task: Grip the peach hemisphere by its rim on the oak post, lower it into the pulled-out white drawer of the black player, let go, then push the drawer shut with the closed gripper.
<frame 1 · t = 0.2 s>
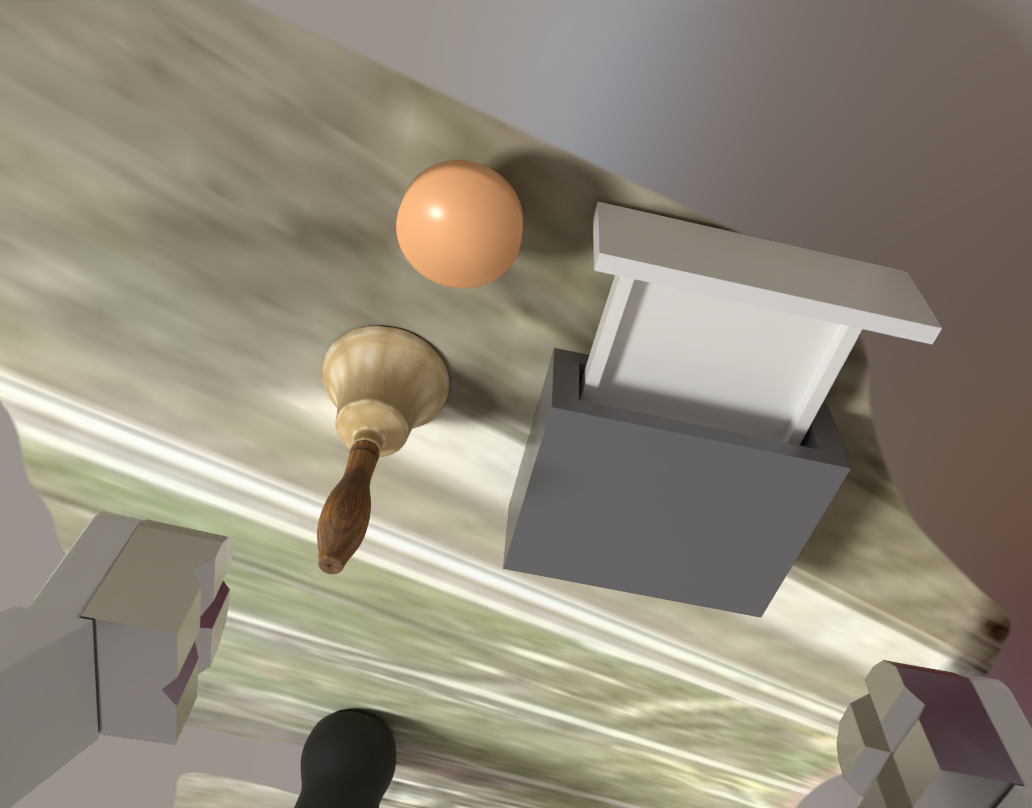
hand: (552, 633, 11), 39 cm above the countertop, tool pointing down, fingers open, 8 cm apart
white drawer: (719, 363, 50), point 4 cm above the countertop, slide at 9.0 cm
cola bottle: (356, 727, 82), on the countertop
peach hemisphere: (462, 219, 46), point 3 cm above the countertop, touching post
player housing: (659, 458, 59), on the countertop
hand bell: (386, 376, 57), on the countertop
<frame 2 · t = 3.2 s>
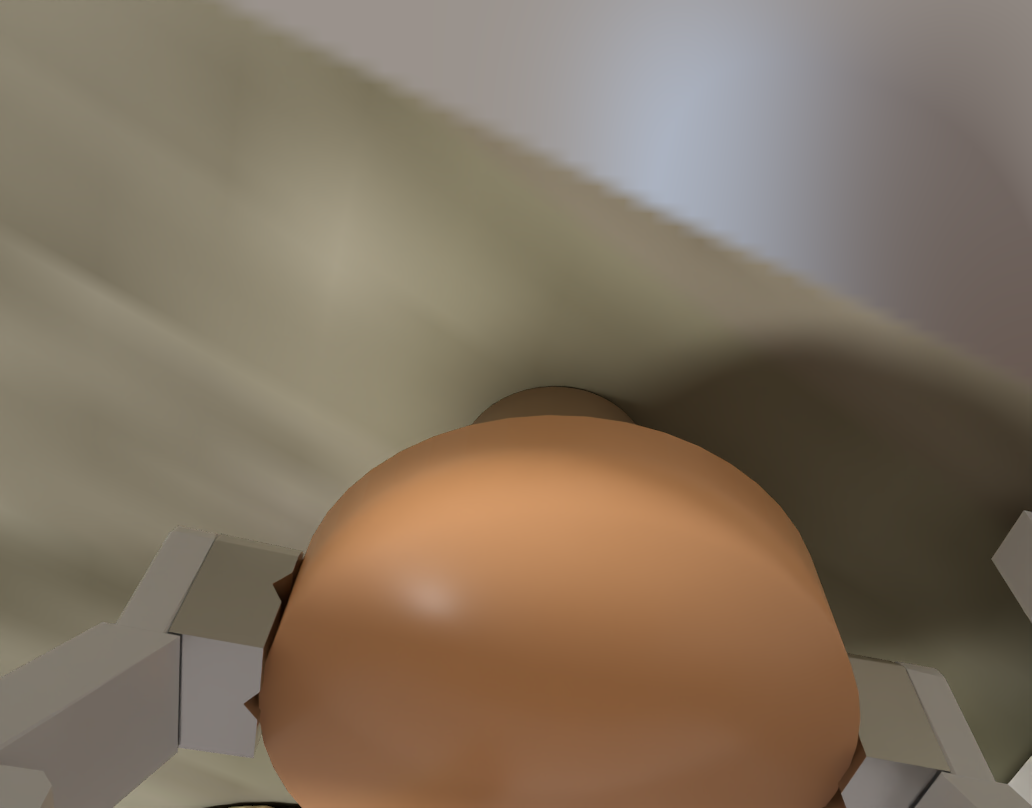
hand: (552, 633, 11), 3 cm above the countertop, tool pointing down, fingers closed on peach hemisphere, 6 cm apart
peach hemisphere: (554, 634, 11), point 3 cm above the countertop, touching gripper, post
post: (553, 468, 14), on the countertop
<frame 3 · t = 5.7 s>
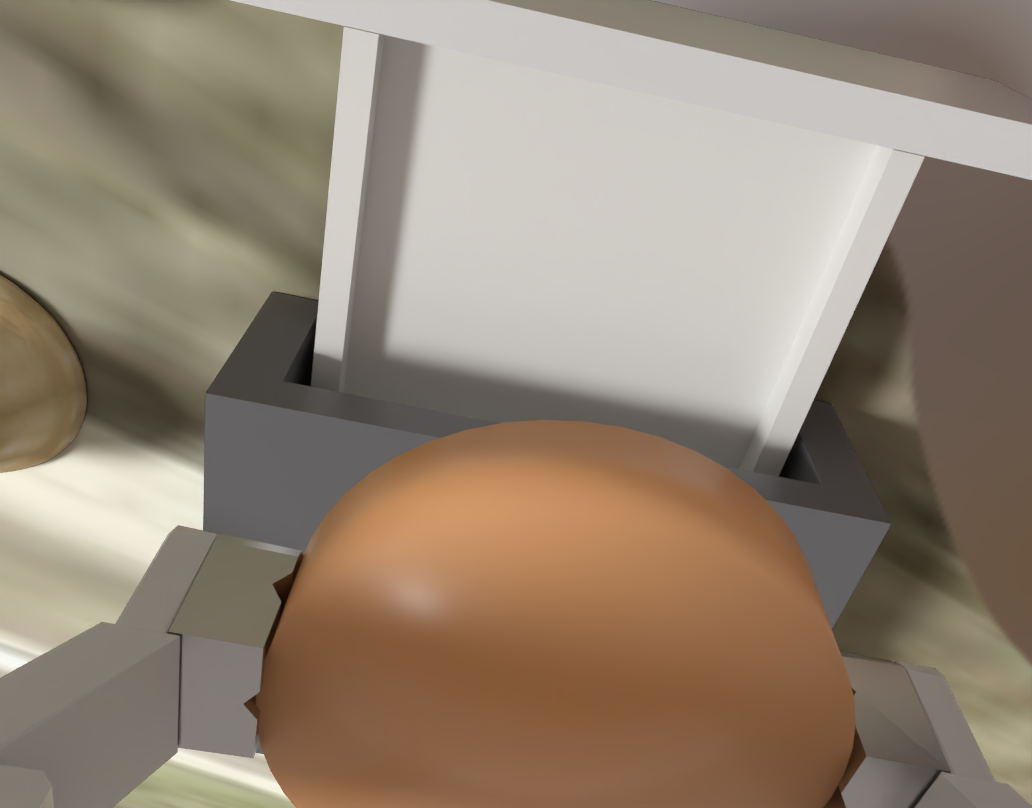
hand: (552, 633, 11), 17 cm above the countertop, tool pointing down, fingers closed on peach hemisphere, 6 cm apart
white drawer: (590, 291, 23), point 4 cm above the countertop, slide at 9.0 cm
peach hemisphere: (551, 637, 11), point 17 cm above the countertop, touching gripper
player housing: (513, 517, 31), on the countertop
when the fingers open (3 cm above the countertop, at t = 8.5 s): peach hemisphere stays where it is, resting on white drawer.
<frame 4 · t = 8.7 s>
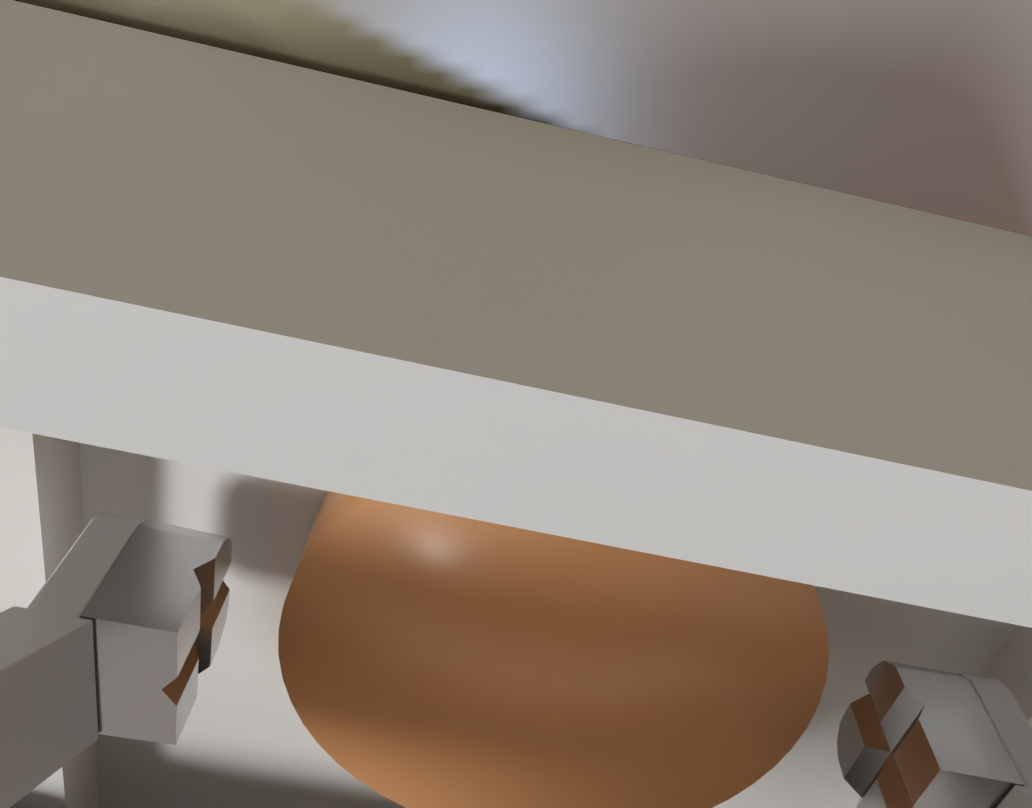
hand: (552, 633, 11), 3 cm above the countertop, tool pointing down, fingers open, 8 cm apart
white drawer: (532, 735, 11), point 3 cm above the countertop, slide at 9.0 cm, touching peach hemisphere
peach hemisphere: (550, 584, 12), point 2 cm above the countertop, touching white drawer
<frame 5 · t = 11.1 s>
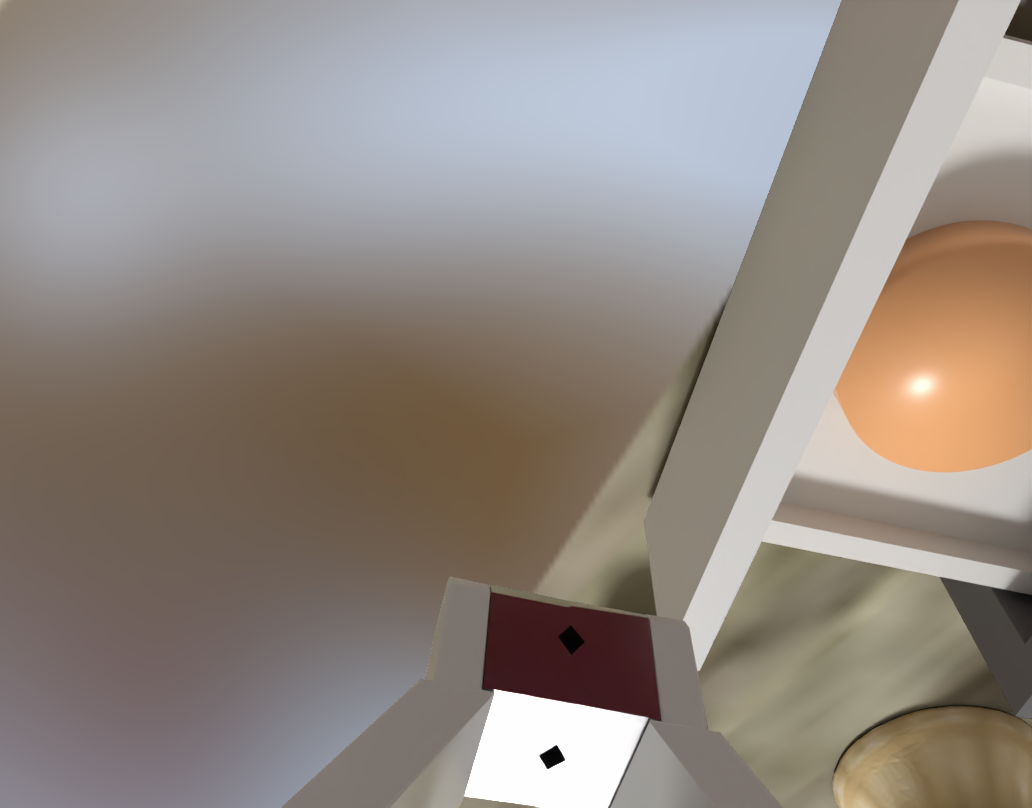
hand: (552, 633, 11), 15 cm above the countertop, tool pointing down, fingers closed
white drawer: (1017, 373, 22), point 3 cm above the countertop, slide at 9.0 cm, touching peach hemisphere
peach hemisphere: (949, 337, 23), point 2 cm above the countertop, touching white drawer
hand bell: (935, 769, 35), on the countertop
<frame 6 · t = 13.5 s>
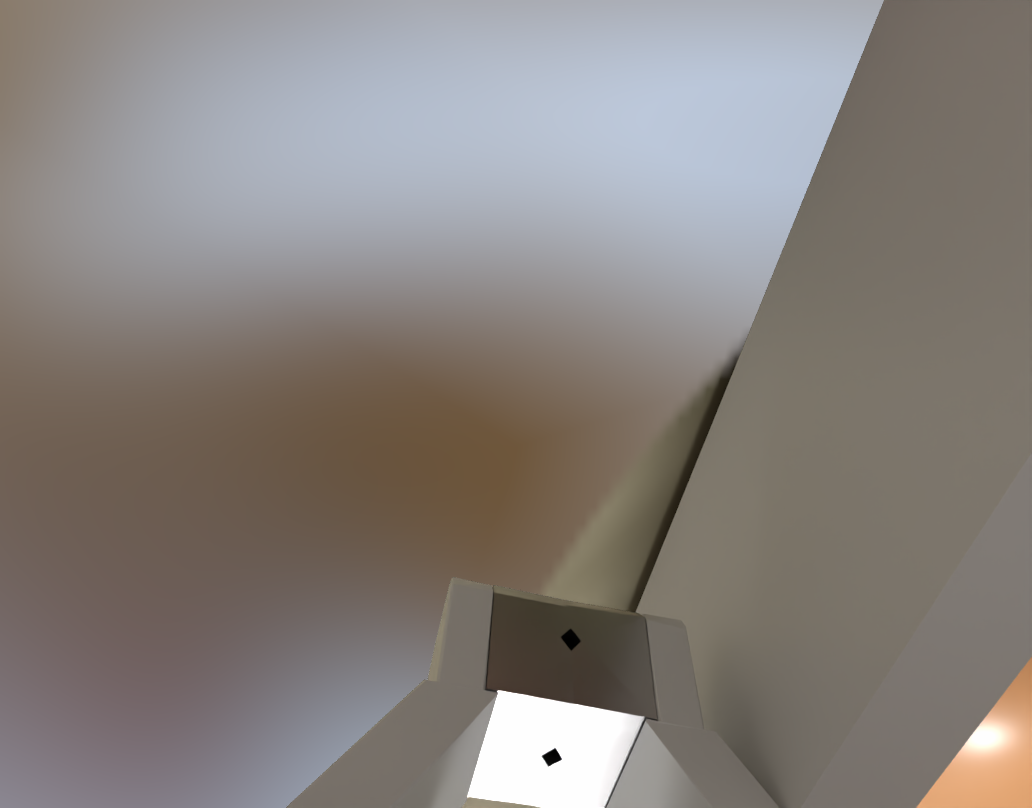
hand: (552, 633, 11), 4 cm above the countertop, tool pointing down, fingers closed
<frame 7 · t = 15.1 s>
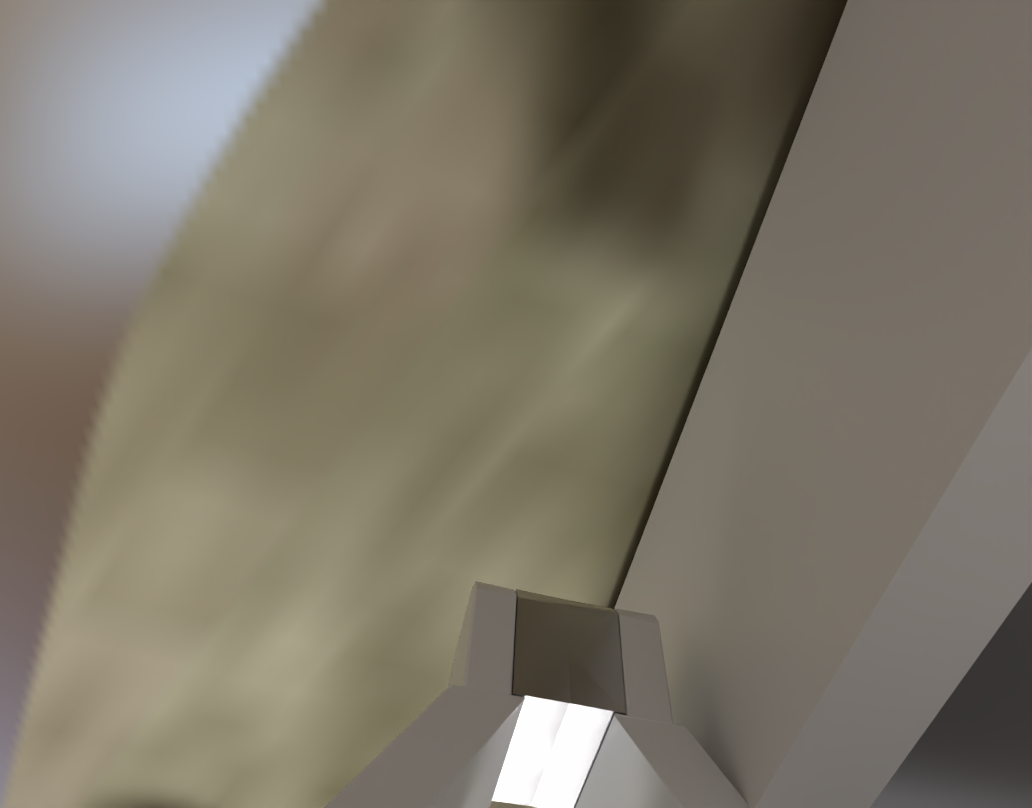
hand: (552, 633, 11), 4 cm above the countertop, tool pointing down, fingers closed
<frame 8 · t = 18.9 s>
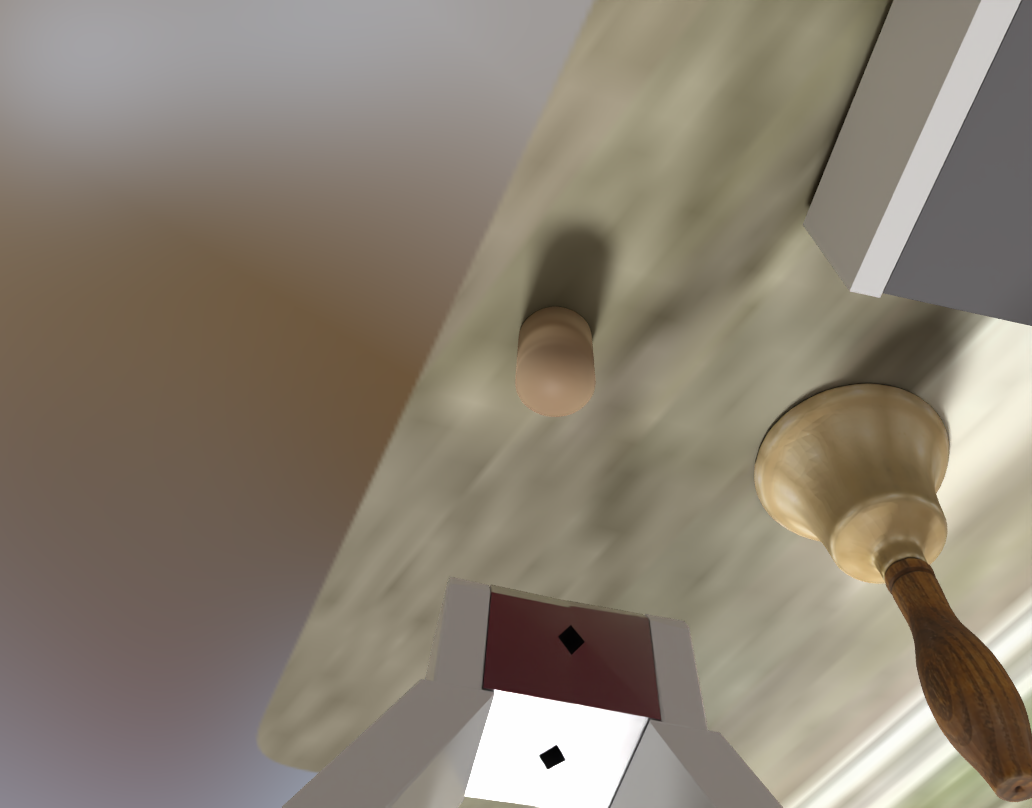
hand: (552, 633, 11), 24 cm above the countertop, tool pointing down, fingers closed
post: (555, 340, 36), on the countertop
hand bell: (847, 461, 39), on the countertop
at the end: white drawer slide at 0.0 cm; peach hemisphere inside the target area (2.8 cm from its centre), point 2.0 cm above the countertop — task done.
